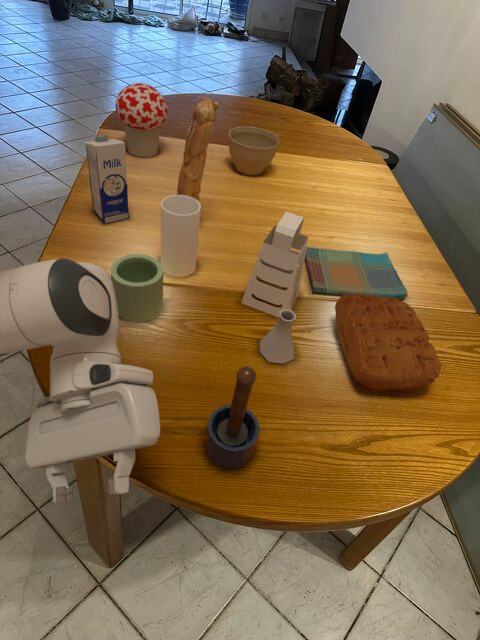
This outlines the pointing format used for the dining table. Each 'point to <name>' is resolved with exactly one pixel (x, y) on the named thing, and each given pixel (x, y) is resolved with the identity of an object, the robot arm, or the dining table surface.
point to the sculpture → (196, 148)
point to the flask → (279, 339)
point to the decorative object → (141, 117)
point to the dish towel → (352, 273)
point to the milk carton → (108, 178)
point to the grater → (278, 266)
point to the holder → (227, 454)
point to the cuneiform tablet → (385, 343)
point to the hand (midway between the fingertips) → (90, 498)
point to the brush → (237, 411)
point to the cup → (179, 234)
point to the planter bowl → (252, 149)
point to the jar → (138, 287)
